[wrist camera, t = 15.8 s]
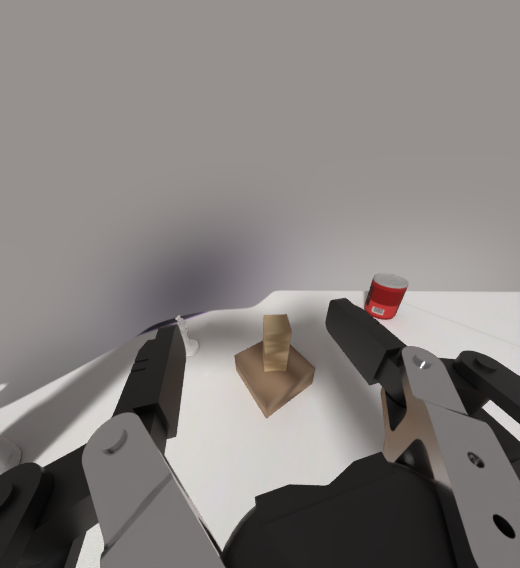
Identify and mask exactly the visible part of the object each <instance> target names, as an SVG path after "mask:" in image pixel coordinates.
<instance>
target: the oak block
mask: <svg viewBox="0 0 520 568" xmlns="http://www.w3.org/2000/svg"><path fill="white" fill-rule="evenodd" d="M290 339H291V328H290V325H289V321H288V317H287V314H285V315H264V319H263V362H264V372H273V371H286V368H287V361H288V354H289V346H290Z"/></svg>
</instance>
